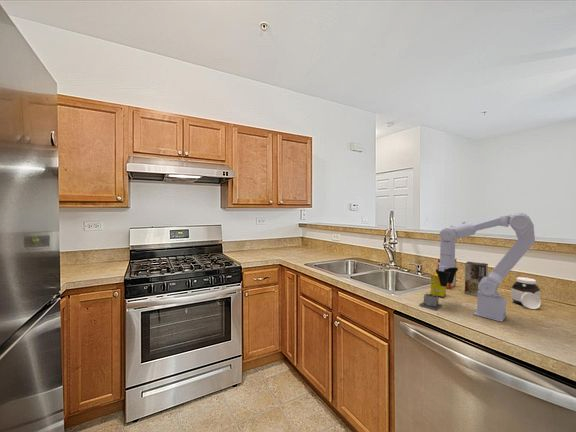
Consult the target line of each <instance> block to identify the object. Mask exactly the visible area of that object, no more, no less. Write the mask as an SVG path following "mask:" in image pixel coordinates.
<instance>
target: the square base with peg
mask: <svg viewBox="0 0 576 432" xmlns="http://www.w3.org/2000/svg"><path fill="white" fill-rule="evenodd" d="M428 297H432V296H428ZM418 306H419V307H421V308H425V309H428V310H432V311H438V310H439V309H441V308H442V307H443V305H442V304H440V303H438V306H437V307H430V306H427V305H425V304H424V301H422V302H421V303H419V305H418Z"/></svg>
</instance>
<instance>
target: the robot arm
mask: <svg viewBox="0 0 576 432" xmlns="http://www.w3.org/2000/svg"><path fill="white" fill-rule="evenodd" d="M498 226H499V227H505V228H506V227H507V228H509V226H510V227H511V229H512V230H513V231H514V232H515V235H516V238H517V240H516V241H515V243H513V245H512V246H511V247H510V248H509V249H508V251H507V252H506V253H505V255H504V256H502V258H501V259H500V260H499V262H498V263H497V264H496V265H495V266H494V267H493V268H492V270H491V271H490V272H489V273H488V275H487V276H485V277H483V278H482V279H481V281H480V283H479V284H478V289H479V291H478V296H476V297H477V299H476V300H477V301H476V302H477V303H476V310H475V312H473V315H475V316H478V317H482V318H485V319H489V320H494V321H496V322H497V321H498V322H501V323H502V322H503V321H504V320H505V319H506V317H507V298H506V297H503V296H500V293H498V289H499V286H500V284H501V283H502V282H503V280H505V277H506V276H507V275H508V274H509V273H510V272H511V271H512V269H513V268H514V267H515V265H517V263H518V262H519V261H520V260H521V259H522V258H523V257H524V255H525V254H526V253H527V252H528V251H529V249H530V248H531V247H532V246H533V245H534V243H535V242H536V237H535V227H534V226H535V225H534V222H533V221H532V219H531V218H530V216H529V215H527V214H526V213H523V212H519V213H518V212H517V213H515V214H506V215H499V216H496V217H493V218H489V219H487V220H484V221H483V220H482V221H479V222H477V223H474V222H470V221H468V222H466V221H462V222H461V223H460V224H457V225H450V227H445V228H442V229H441V231H440V232H439V238H440V245H439V246H440V247H439V249H440V251H439V259H440V263H438V262H437V263H436V265H437V266H438V265H439V269H438V268H436V269H435V273H437V275H438V277H439V281H440V285H441V286H444V287H446V286H447V283H451V284H452V283H453V280H454V276H455V274H456V275H457V272H458V270H459V268H458V267H456V268H455V259H456V258H455V257H456V239H457V240H459V239H463V238H467V237H471V236H474V235H475V234H476V232H477V231H478V232H479V231H482V230H486V229H490V228H496V227H498Z"/></svg>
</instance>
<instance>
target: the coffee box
mask: <svg viewBox="0 0 576 432" xmlns="http://www.w3.org/2000/svg"><path fill="white" fill-rule="evenodd" d="M464 265H465V267H464V275H465V276H464V295H465V294H466V295H470V296H475V297H477V296H478V291H479V289H478V284H479V283H480V281H481V279H482V278H483V277H485V276H487V275H489V273H488V272H489V269H488V268H489V264H488V263H485V262H477V261H476V262H475V261H466V262H465V264H464Z"/></svg>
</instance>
